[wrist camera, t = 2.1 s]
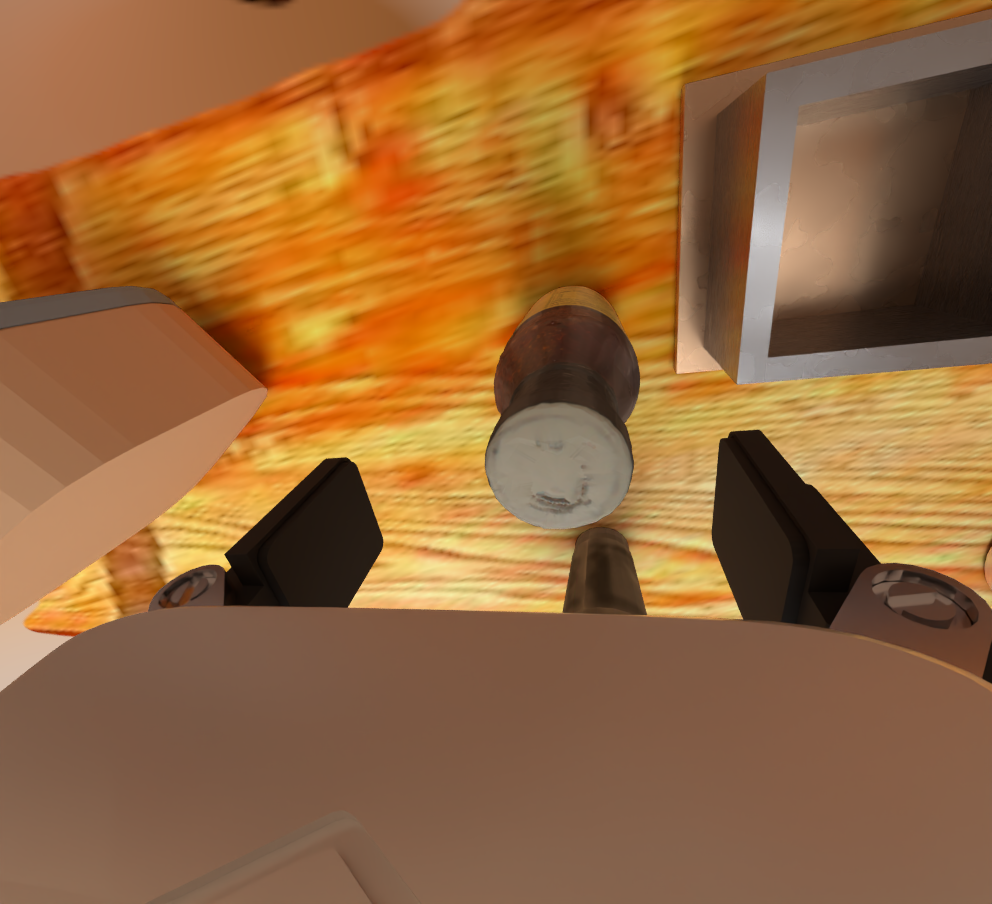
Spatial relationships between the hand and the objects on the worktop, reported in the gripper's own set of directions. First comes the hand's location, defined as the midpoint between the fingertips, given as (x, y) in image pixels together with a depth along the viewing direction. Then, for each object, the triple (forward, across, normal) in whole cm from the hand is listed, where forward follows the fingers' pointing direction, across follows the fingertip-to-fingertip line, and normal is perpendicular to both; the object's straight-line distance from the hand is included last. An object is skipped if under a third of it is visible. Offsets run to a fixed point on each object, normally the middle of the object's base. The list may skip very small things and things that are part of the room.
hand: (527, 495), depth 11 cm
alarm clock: (+21, +32, +2) cm, 39 cm away
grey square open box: (+20, -15, -4) cm, 25 cm away
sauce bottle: (+21, -1, 0) cm, 21 cm away
